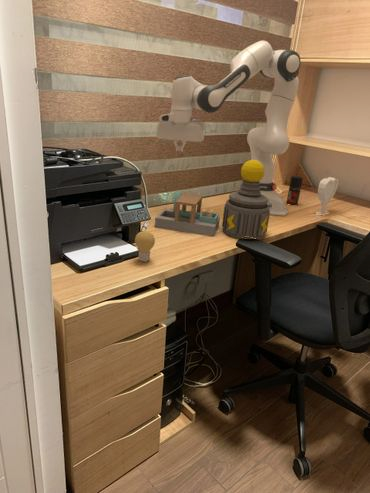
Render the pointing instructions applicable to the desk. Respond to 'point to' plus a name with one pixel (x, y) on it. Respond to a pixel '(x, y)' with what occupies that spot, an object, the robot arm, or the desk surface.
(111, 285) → the desk surface
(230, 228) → the toy power generator
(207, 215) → the maple block
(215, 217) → the sled
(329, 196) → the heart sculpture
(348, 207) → the desk surface
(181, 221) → the tunnel deck
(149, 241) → the light bulb
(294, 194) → the deodorant
